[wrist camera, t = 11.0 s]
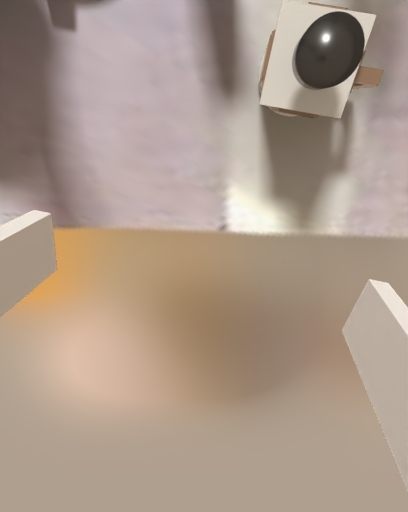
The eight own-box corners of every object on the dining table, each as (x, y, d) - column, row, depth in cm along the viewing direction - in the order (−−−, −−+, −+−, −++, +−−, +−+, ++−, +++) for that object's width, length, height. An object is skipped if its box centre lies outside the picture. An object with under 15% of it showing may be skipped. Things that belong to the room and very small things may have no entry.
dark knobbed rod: (274, 91, 40) (289, 82, 24) (284, 47, 37) (309, 6, 22) (310, 98, 39) (349, 92, 24) (323, 54, 37) (376, 16, 21)
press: (250, 109, 43) (250, 111, 32) (268, 22, 38) (276, -13, 27) (335, 125, 42) (367, 132, 31) (365, 38, 37) (415, 9, 26)
